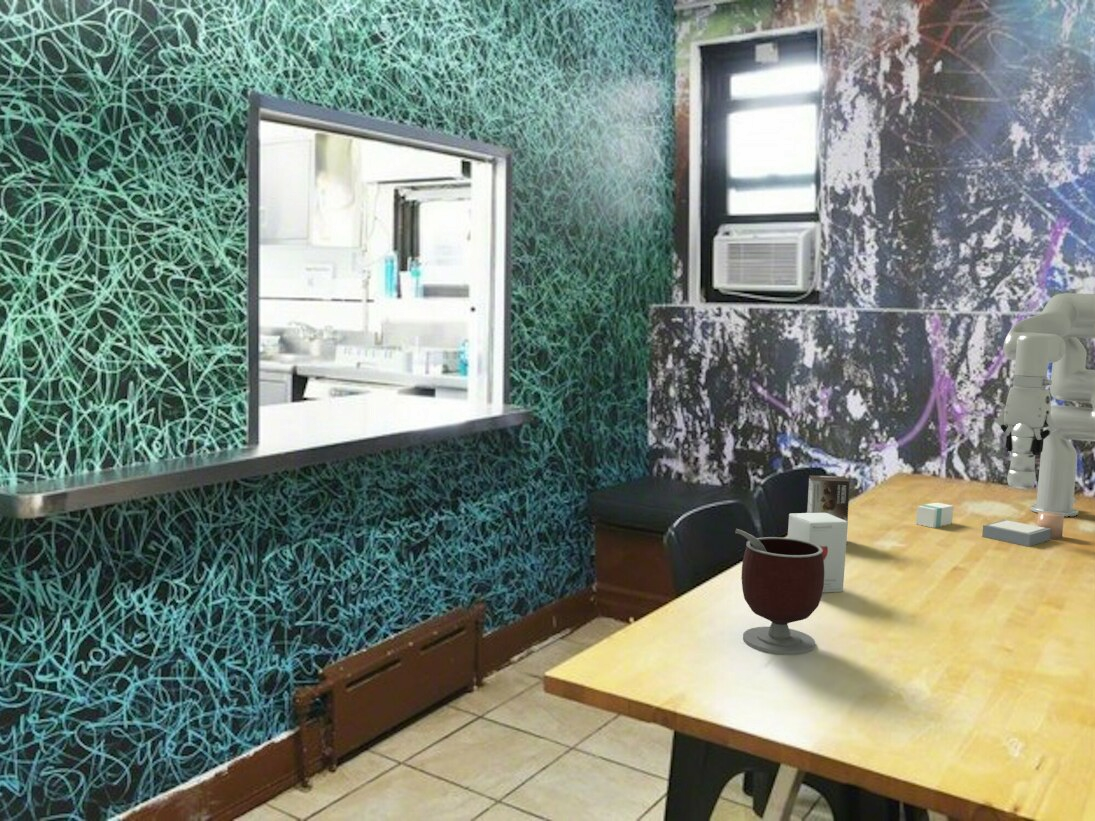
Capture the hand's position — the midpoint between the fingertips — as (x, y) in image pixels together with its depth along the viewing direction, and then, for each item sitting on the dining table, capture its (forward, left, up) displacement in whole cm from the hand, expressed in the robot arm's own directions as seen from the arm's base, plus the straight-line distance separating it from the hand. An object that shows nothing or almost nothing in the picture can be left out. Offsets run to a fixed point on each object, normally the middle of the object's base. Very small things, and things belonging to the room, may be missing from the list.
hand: (1023, 452), depth 249 cm
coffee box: (+46, -26, -23) cm, 58 cm away
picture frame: (0, 0, -23) cm, 23 cm away
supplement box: (+82, -4, -23) cm, 85 cm away
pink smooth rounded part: (-10, +4, -23) cm, 25 cm away
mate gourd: (+116, +12, -23) cm, 119 cm away
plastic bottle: (0, 0, -10) cm, 10 cm away
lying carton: (+3, -21, -23) cm, 31 cm away
